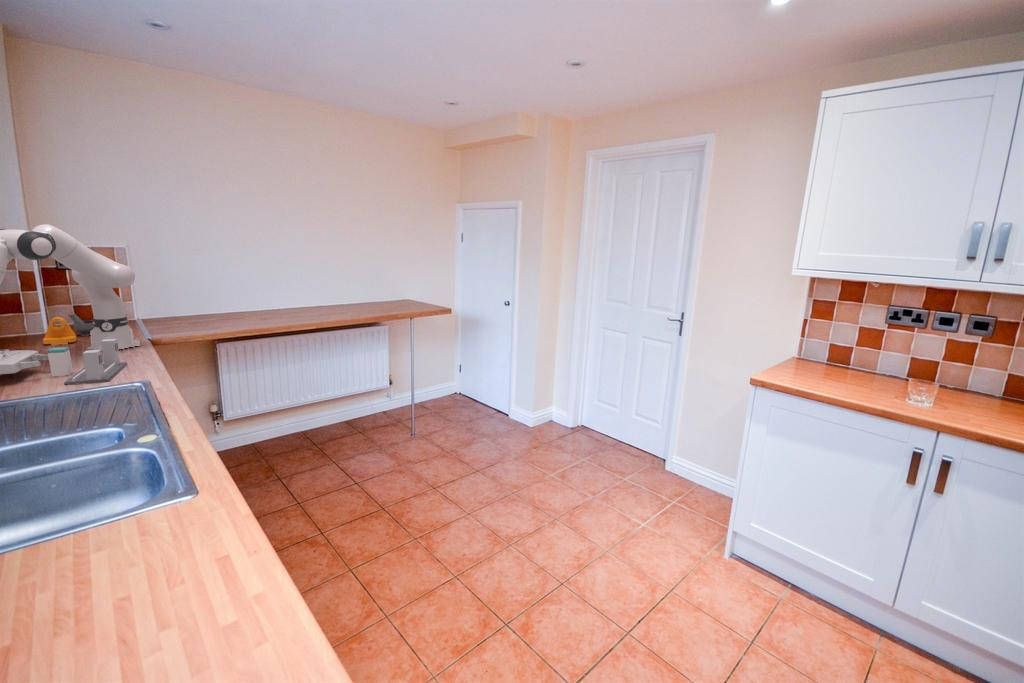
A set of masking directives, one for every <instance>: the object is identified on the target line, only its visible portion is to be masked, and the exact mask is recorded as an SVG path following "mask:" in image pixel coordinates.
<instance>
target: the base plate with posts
mask: <svg viewBox="0 0 1024 683" xmlns="http://www.w3.org/2000/svg"><path fill="white" fill-rule="evenodd" d="M101 347H102V351H101V350H89V349H87V350H85V351H84V352H82V358H83V364H84V365H83V366H84V367H83V368H82V369H81V370H79V371H78V372H76V373H75V374H73V375H72V376H71V377H69V378H68V379H67V380H65V381H64V382H63V384H64V386H66V385H65V384H73V385H77V384H76V383H86V384H95V383H94V382H99V383H108V382H110V381H111V380H113V378H114V377H116V376H117V375H118V374H119V373H120V372H121V371H122V370H123V369H124V368H126V367H127V365H128V363H127V361H124V362H123V361H122V362H121V360H120V350H119V349H118V343H117V339H104V340H102V341H101Z"/></svg>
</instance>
